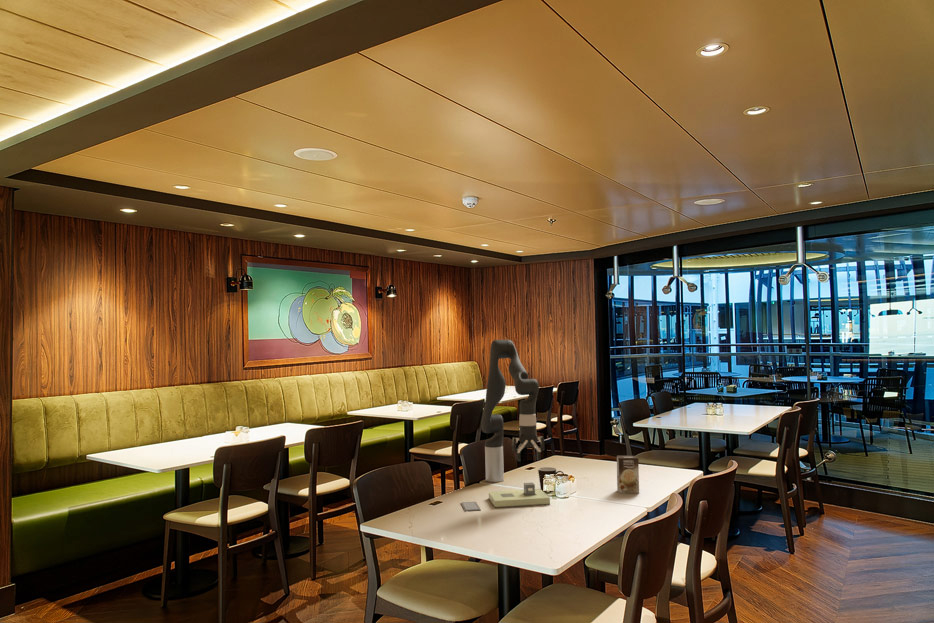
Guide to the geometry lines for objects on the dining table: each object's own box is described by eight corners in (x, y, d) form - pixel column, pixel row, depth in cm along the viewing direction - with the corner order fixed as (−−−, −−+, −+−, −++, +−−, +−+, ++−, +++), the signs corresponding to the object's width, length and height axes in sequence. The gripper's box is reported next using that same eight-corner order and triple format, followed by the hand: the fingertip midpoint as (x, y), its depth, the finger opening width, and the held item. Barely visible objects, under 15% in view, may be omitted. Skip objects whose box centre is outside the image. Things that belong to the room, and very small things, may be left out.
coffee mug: (536, 492, 281) (536, 470, 281) (540, 487, 289) (540, 466, 289) (561, 493, 277) (560, 471, 277) (564, 489, 285) (564, 467, 286)
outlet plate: (488, 498, 271) (488, 491, 271) (540, 495, 274) (540, 488, 274) (495, 508, 255) (494, 500, 255) (550, 504, 258) (549, 497, 258)
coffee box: (619, 493, 275) (618, 458, 276) (617, 490, 281) (615, 455, 282) (639, 493, 274) (638, 457, 275) (637, 490, 280) (636, 455, 281)
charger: (524, 498, 267) (523, 483, 267) (532, 498, 267) (532, 482, 268) (526, 501, 263) (525, 485, 263) (535, 500, 263) (534, 484, 264)
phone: (460, 504, 264) (460, 502, 264) (475, 503, 265) (475, 501, 265) (465, 513, 251) (465, 510, 251) (480, 512, 252) (480, 509, 252)
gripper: (541, 422, 272) (542, 458, 271) (510, 423, 270) (511, 459, 269) (545, 424, 264) (546, 461, 263) (513, 425, 262) (514, 463, 262)
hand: (528, 460), depth 266 cm, fingers open, 8 cm apart
